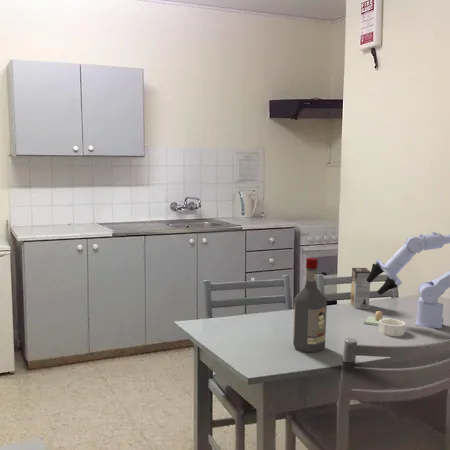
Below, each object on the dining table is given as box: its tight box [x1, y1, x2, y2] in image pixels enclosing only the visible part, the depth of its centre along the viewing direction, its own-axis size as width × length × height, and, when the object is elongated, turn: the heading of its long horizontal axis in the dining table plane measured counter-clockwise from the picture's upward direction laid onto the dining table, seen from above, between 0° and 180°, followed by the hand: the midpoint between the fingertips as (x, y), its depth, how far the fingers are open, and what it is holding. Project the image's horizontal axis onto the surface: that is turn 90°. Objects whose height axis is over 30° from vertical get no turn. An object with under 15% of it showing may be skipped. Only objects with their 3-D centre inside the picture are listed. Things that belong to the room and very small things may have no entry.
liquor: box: [292, 257, 328, 353], centre depth 187 cm, size 9×9×30 cm
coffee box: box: [350, 267, 371, 310], centre depth 242 cm, size 9×6×16 cm
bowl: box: [377, 318, 406, 337], centre depth 206 cm, size 9×9×4 cm
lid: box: [364, 310, 391, 326], centre depth 219 cm, size 9×9×4 cm
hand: (373, 287), depth 220 cm, fingers open, 7 cm apart
